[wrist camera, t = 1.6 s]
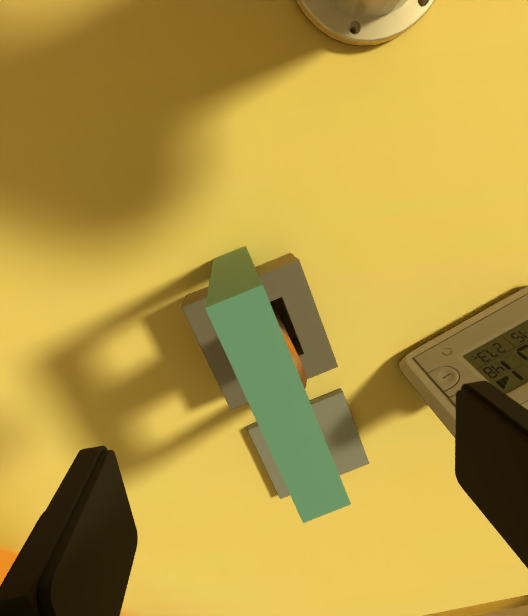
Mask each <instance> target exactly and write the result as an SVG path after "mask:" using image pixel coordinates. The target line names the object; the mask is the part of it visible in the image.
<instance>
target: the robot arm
mask: <svg viewBox="0 0 528 616" xmlns="http://www.w3.org/2000/svg"><path fill="white" fill-rule="evenodd" d="M434 1H435V0H296V2H297V4H298V5H299V7H300V8H301V10H302V11H303V13H304V14H305V16H306V17H307V18H308V19H309V20H310V21H311V22H312V23H313V24H314V25H315V26H316V27H317V28H318V29H319V30H321V31H322V32H324V33H325V34H327V35H328V36H329V37H331V38H333V39H336V40H338V41H341V42H343V43H346V44H352V45H358V46H365V45H377V44H380V43H383V42H387V41H390V40H392V39H394V38H396V37H397V36H399V35H401V34H403V33H404V32H406V31H407V30H408V29H409V28H411V27H412V26H413V25H414V24H415V23H417V22H418V21H419V20H420V19H421V18H422V17H423V15H424V14H426V13H427V11H428V10H429V9H430V7H431V6H432V4H433V3H434ZM418 2H419V3H420V5H419V4H418ZM350 29H352V30H353V31H354V34H352V33H351V32H350ZM455 474H456V478H457V480H458V482H459V484H460V486H461V487H462V488H463V490H464V491H465V492H466V493H467V494H468V496H469V497H470V498H471V499H472V501H473V502H474V503H475V504H476V505H477V507H478V508H479V509H480V510H481V512H482V513H483V514H484V515H485V516H486V518H487V519H488V520H489V521H490V523H491V524H492V525H493V526H494V528H495V529H496V530H497V531H498V532H499V534H500V535H501V536H502V537H503V539H504V540H505V541H506V542H507V543H508V545H509V546H510V547H511V548H512V550H513V551H514V552H515V553H516V554H517V556H518V557H519V558H520V559H521V561H522V562H523V563H524V564H525V566H526V567H527V568H528V410H527V409H526V408H525V407H523V406H522V405H520V404H519V403H518V402H516V401H515V400H513V399H512V398H510V397H509V396H508V395H506V394H505V393H503V392H502V391H500V390H499V389H498V388H496V387H495V386H493V385H492V384H491V383H489V382H487V381H477V382H472V383H466V384H463V385H462V387H461V390H458V391H457V393H456V434H455ZM136 548H137V530H136V526H135V522H134V519H133V515H132V512H131V508H130V505H129V501H128V498H127V494H126V491H125V487H124V484H123V480H122V477H121V473H120V470H119V466H118V463H117V459H116V456H115V453H114V451H113V450H109V451H108V450H107V448H106V447H105V446H99V447H93V448H87V449H82V450H80V451H79V453H78V455H77V456H76V458H75V460H74V462H73V463H72V465H71V467H70V469H69V470H68V472H67V474H66V476H65V477H64V479H63V481H62V483H61V484H60V486H59V488H58V490H57V491H56V493H55V495H54V497H53V498H52V500H51V502H50V504H49V506H48V507H47V509H46V511H45V512H44V513H43V514H42V515H41V516H40V518H39V520H38V521H37V523H36V525H35V527H34V528H33V530H32V532H31V534H30V535H29V537H28V539H27V541H26V542H25V544H24V546H23V548H22V549H21V551H20V553H19V554H18V556H17V558H16V560H15V561H14V563H13V565H12V567H11V569H10V570H9V572H8V574H7V576H6V577H5V579H4V581H3V583H2V584H1V586H0V616H120V612H121V608H122V604H123V600H124V596H125V592H126V588H127V584H128V580H129V576H130V572H131V568H132V564H133V560H134V556H135V552H136ZM424 616H528V595H525V596H520V597H515V598H510V599H505V600H500V601H495V602H490V603H485V604H480V605H474V606H469V607H464V608H459V609H454V610H449V611H444V612H439V613H434V614H429V615H424Z"/></svg>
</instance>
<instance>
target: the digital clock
mask: <svg viewBox="0 0 528 616" xmlns="http://www.w3.org/2000/svg"><path fill="white" fill-rule="evenodd" d="M399 368H400V370H401V372H402V373H403V375H404V376H405V377H406V379H407V380H408V381H409V382H410V383H411V385H412V386H413V387H414V388H415V390H416V391H417V392H418V393H419V394H420V396H421V397H422V398H423V399H424V401H425V402H426V403H427V404H428V405H429V407H430V408H431V409H432V410H433V412H434V413H435V414H436V415H437V417H438V418H439V419H440V420H441V421H442V423H443V424H444V425H445V426H446V428H447V429H448V430H449V431H450V432H451V434H452V435H453V436H454V437H455V434H456V393H457V391H458V390H461V387H462V385H463V384H466V383H472V382H477V381H487V382H489V383H491V384H492V385H493V386H495V387H496V388H498V389H499V390H500V391H502V392H503V393H505V394H506V395H508V396H509V397H510V398H512V399H513V400H515V401H516V402H518V403H519V404H520V405H522V406H523V407H525V408H526V409H527V410H528V286H527V287H525V288H523V289H521V290H519V291H518V292H516V293H514V294H512V295H510V296H508V297H507V298H505V299H503V300H501V301H500V302H498V303H496V304H494V305H493V306H491V307H489V308H487V309H485V310H484V311H482V312H480V313H478V314H477V315H475V316H473V317H471V318H469V319H468V320H466V321H464V322H462V323H461V324H459V325H457V326H455V327H454V328H452V329H450V330H448V331H446V332H445V333H443V334H441V335H439V336H438V337H436V338H434V339H432V340H430V341H429V342H427V343H425V344H423V345H422V346H420V347H418V348H417V349H415V350H413V351H412V352H410V353H409V354H407V355H406V356H405V357H404V358H403V359H402V360H401V361H400V363H399Z"/></svg>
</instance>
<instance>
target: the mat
mask: <svg viewBox="0 0 528 616" xmlns="http://www.w3.org/2000/svg"><path fill="white" fill-rule="evenodd" d="M310 404H311V406H312V409H313V411H314V414H315V416H316V419H317V421H318V424H319V426H320V429H321V431H322V433H323V436H324V438H325V441H326V443H327V446H328V448H329V451H330V453H331V456H332V458H333V461H334V463H335V466H336V468H337V471H338V473H339V475H342V474H344V473H347V472H349V471H352V470H354V469H357V468H359V467H362V466H364V465H367V464H369V461H368V459H367V456H366V453H365V451H364V448H363V445H362V442H361V440H360V437H359V434H358V432H357V429H356V426H355V423H354V421H353V418H352V415H351V413H350V410H349V407H348V404H347V402H346V399H345V396H344V394H343V391H342V390H341V388H340V389H338V390H335V391H333V392H330V393H328V394H325V395H323V396H320V397H318V398H315V399H313V400H310ZM247 427H248V432H249V434H250V436H251V438H252V440H253V442H254V444H255V447H256V449H257V451H258V453H259V455H260V457H261V459H262V461H263V464H264V466H265V468H266V470H267V472H268V474H269V476H270V479H271V481H272V483H273V485H274V487H275V489H276V491H277V493H278V496H279V498H280V499H281V498H284V497H287V496H289V495H290V493H289V491H288V489H287V486H286V484H285V482H284V480H283V478H282V476H281V473H280V471H279V469H278V467H277V465H276V462H275V460H274V458H273V456H272V454H271V451H270V449H269V447H268V445H267V443H266V440H265V438H264V436H263V434H262V432H261V430H260V427H259V425H258V423H257V422H255V423H253V424H250V425H248V426H247Z"/></svg>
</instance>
